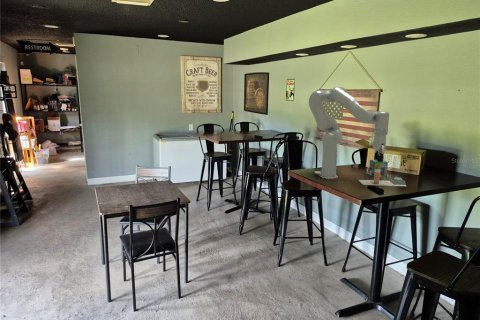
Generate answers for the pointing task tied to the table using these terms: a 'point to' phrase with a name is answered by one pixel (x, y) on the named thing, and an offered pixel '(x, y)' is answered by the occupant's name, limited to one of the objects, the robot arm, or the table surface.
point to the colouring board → (384, 182)
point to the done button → (397, 179)
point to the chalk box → (378, 165)
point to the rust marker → (377, 176)
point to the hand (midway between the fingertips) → (378, 160)
